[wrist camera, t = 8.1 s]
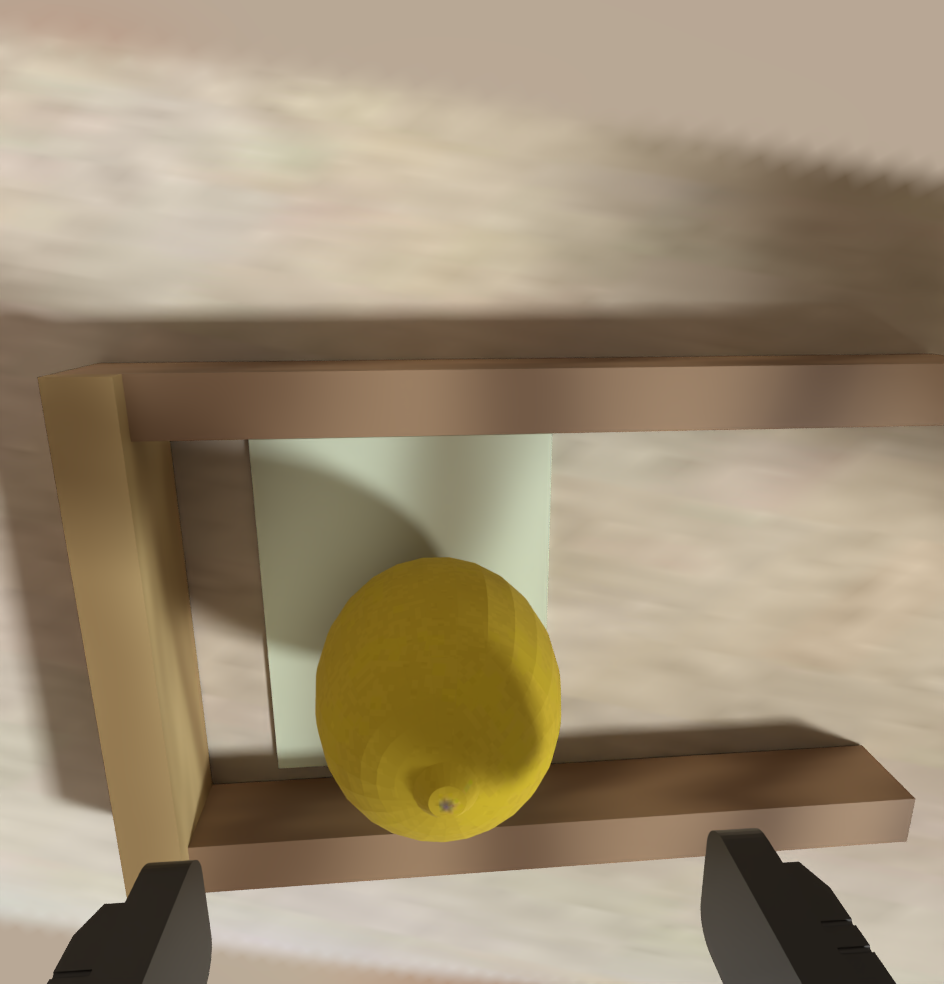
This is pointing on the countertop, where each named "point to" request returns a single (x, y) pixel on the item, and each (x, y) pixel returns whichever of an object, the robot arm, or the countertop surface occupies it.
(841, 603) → the countertop surface
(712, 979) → the countertop surface
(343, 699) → the lemon
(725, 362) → the brown wooden u-shaped frame
